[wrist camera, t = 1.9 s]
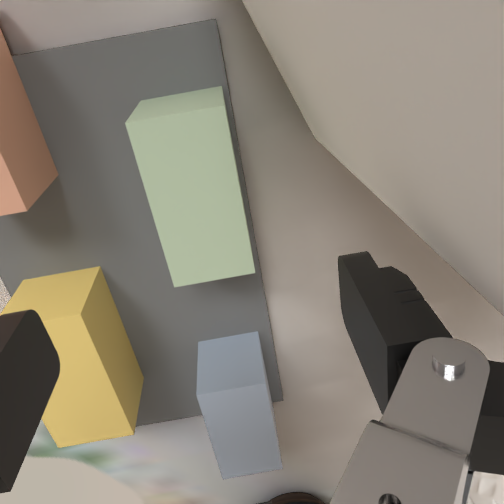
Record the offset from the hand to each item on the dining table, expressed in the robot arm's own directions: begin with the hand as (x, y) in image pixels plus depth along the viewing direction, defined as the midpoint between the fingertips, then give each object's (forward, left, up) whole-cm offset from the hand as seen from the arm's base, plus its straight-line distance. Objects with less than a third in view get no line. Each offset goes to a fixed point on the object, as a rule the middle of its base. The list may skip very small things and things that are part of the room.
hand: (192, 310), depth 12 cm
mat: (+5, -5, -11) cm, 12 cm away
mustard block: (+8, -8, -10) cm, 15 cm away
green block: (0, 0, -10) cm, 10 cm away
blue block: (+13, -1, -10) cm, 17 cm away
